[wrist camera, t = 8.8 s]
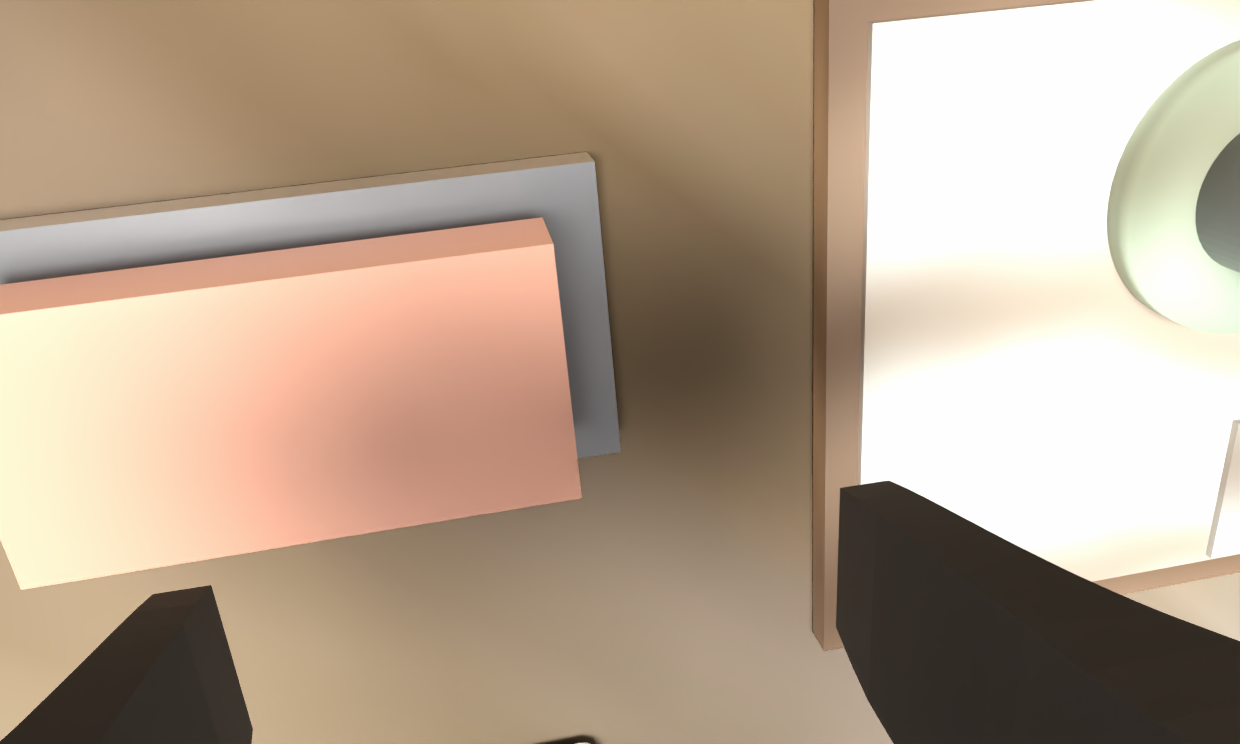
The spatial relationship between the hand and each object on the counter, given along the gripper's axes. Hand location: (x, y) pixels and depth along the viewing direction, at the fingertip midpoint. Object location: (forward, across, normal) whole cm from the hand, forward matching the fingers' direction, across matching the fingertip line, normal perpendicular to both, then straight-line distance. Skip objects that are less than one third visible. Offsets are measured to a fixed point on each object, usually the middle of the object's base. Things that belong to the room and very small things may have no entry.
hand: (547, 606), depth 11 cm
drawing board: (+10, -15, +2) cm, 18 cm away
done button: (+8, +4, 0) cm, 9 cm away
